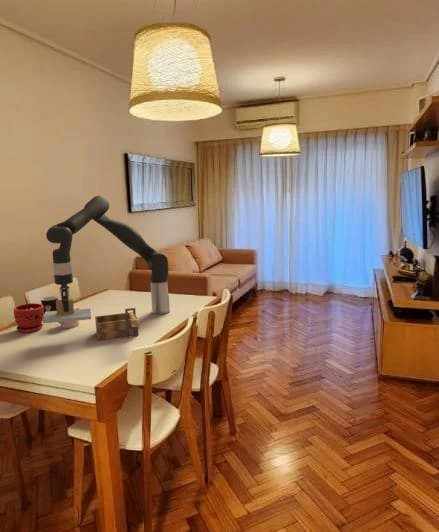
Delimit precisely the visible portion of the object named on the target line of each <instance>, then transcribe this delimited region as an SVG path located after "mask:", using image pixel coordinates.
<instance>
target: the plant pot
mask: <svg viewBox="0 0 439 532" xmlns="http://www.w3.org/2000/svg"><path fill="white" fill-rule="evenodd" d="M13 317H14V319H15V322H16V325H17V326H16V330H17V331H18V332H19V333H20V332H21V333H32V332H36V331H37V332H38V331H39V330H41V329H42V327H43V326H44V325H43V324H44V323H43V318H44V307H43V305H42V303H36V302H35V303H33V302H32V303H31V302H30V303H23V304H18V305H16V306H14V307H13Z"/></svg>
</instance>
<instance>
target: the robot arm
mask: <svg viewBox="0 0 439 532" xmlns="http://www.w3.org/2000/svg"><path fill="white" fill-rule="evenodd" d="M109 210H110V203H109V200H108V199H107V198H106V197H104V196H102V195H96V196H94V197H92V198H91V199H90V200H89V201H88V202H87V203H86V204H85V205H84V207H83V208H82V209H81V210H79V211H78V212H76V213H75V214H73V215H71V216H70V217H68V218H67V219H66V220H64V221H62V222H59V223H57V224H55V225H52V226H50V227H49V228H48V230H47V232H46V234H45V236H46V239H47V241H48V242H50V243H52V244H60V245H59V247H58V248H55V249H53V250H52V263H53V264H52V265H53V266H52V267H53V279H54V284H55V285H58V286H59V285H60V287H59V289H58V290H59V294H60V300H62V304H63V310H64V312H69V305H68V303H69V301H68V299H70V285H71V284H72V283H74V280H73V267H72V263H71V262H72V260H71V249H72V244H73V235H75V234H77V233H78V232H79V231H81V230H82V229H83V228H84V227H85V226H86V225H87V224H88V223H89V222H91V221H92V220H93V221H94V222H96V223H97V224H99V225H100V226H101V227H103V228H104V229H106V230H107V231H108V232H109V233H111V235H113V236H115V238H116V239H118V240H119V241H120V242H121V243H122V244H124V245H125V246H126V247H127V248H129V249H130V250H131V251H133V252H135V254H138V256H140V257H141V258H142V259H143V260H144V261H145V262H146V264H147V265H149V266H150V267H151V276H150V277H149V278H150V280H149V281H150V296H151V297H150V298H151V313H152V314H155V315H160V314H161V315H162V314H167V313H170V311H171V310H170V309H171V308H170V296H169V289H168V288H169V286H168V284H169V283H168V277H169V261H168V260H169V259H168V257H167V256H166V254H164V253H162V252H159V251H158V250H156V249H154V248H153V247H151V245H149V244H148V243H147V242H146V241H145V239H144V238H143V237H142V235H141V234H140V233H139V232H138V231H137V230H136V229H135V228H133V226H131V225H130V224H129V223H128V224H127V223H125V222H122V221H117V220H114V219H113V218H110V217H109V216H108V215H107V214H106V213H107V212H108V211H109ZM64 300H65V301H64Z"/></svg>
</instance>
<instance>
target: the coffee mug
mask: <svg viewBox="0 0 439 532" xmlns="http://www.w3.org/2000/svg"><path fill="white" fill-rule="evenodd" d="M56 300H59V297H58V296H53V295H52V296H45V297H42V298H40V304H42V305H43V307H44V315H45V312H49V311H57V310H56ZM44 315H43V316H44Z"/></svg>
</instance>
